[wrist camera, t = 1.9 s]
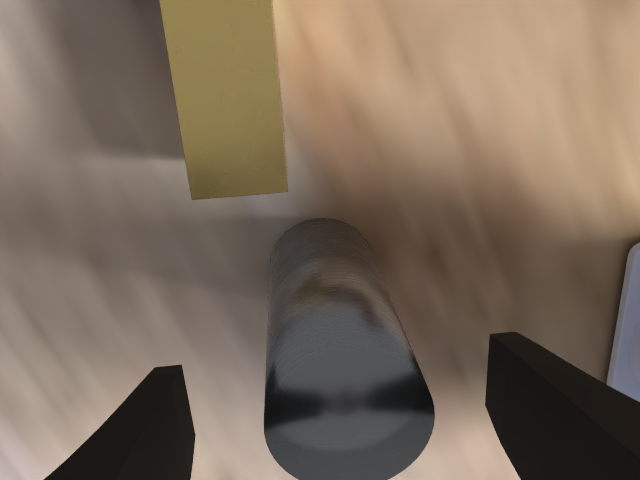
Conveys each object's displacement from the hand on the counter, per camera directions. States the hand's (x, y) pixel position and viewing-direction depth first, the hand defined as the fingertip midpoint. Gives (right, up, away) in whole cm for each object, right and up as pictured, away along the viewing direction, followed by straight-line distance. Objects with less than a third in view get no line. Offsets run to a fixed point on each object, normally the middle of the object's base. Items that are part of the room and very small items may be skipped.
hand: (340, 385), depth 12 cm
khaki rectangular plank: (-3, +9, +4) cm, 10 cm away
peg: (0, +2, +6) cm, 7 cm away
